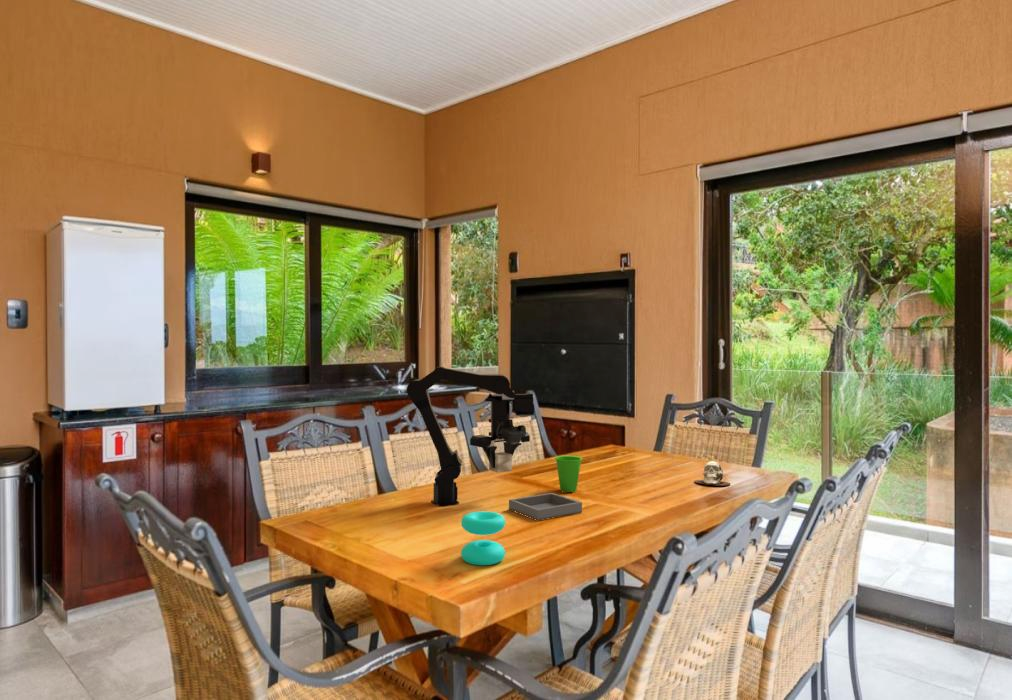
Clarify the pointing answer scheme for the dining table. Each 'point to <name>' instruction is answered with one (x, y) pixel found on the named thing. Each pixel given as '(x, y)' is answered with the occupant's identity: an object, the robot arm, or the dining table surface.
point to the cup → (568, 472)
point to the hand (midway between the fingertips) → (500, 466)
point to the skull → (712, 474)
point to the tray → (545, 506)
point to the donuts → (483, 549)
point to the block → (502, 462)
